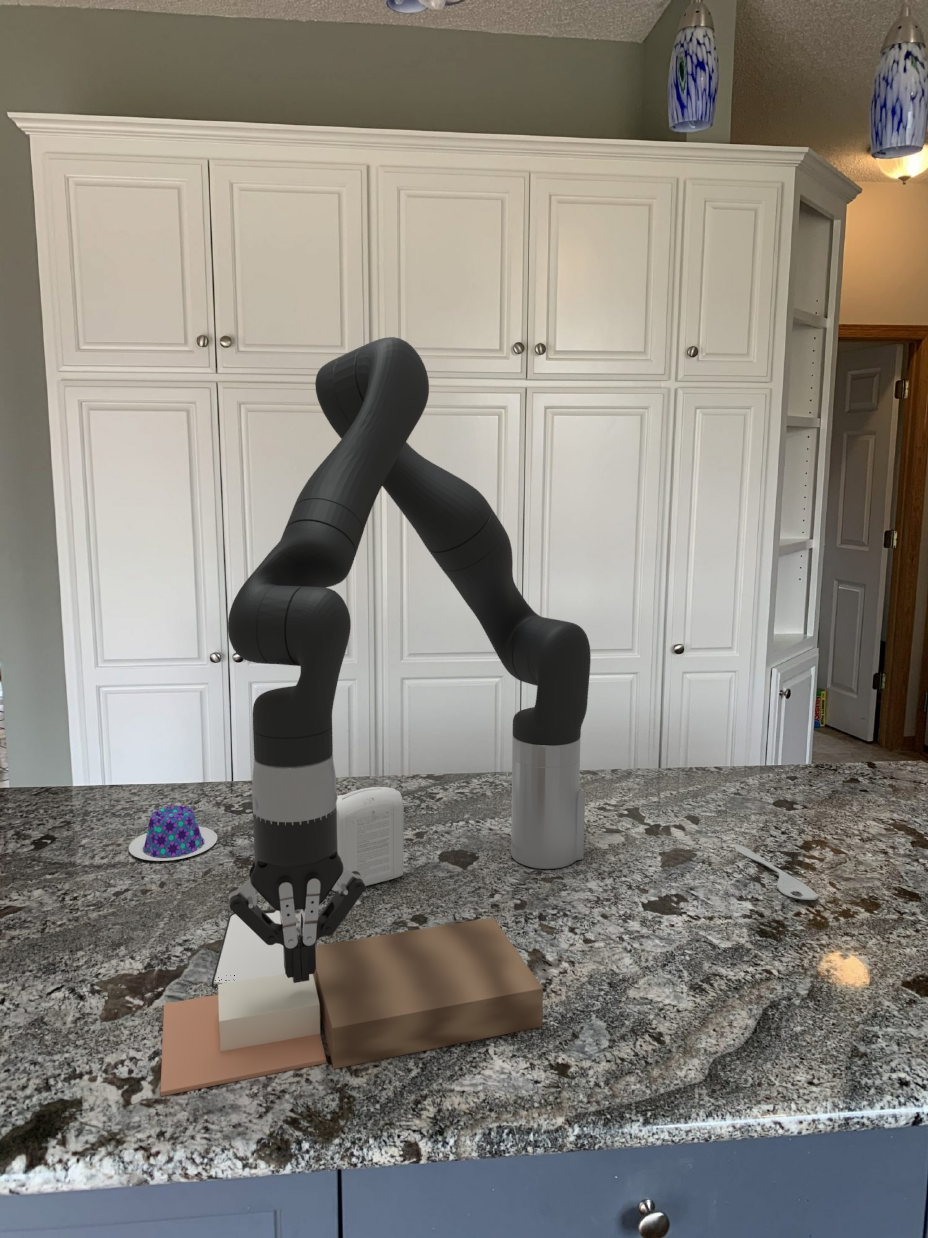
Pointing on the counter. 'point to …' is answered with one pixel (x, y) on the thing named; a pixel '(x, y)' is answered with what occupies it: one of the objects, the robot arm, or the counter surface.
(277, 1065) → the mat
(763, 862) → the spoon
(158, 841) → the purple patterned hat
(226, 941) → the smartphone
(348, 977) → the deck
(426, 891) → the counter surface
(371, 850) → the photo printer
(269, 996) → the cream brick
